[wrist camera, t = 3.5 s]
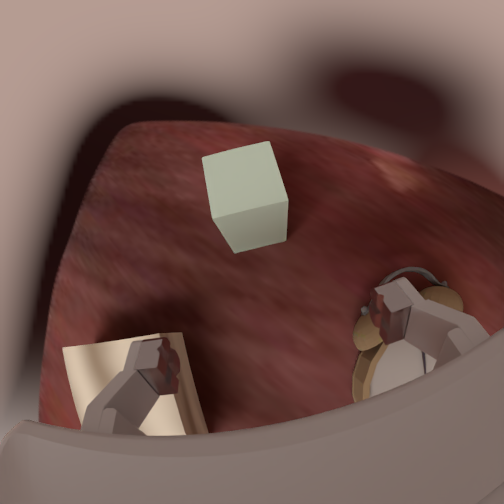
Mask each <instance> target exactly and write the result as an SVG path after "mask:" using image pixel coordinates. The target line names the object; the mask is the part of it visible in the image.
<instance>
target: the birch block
mask: <svg viewBox="0 0 504 504" xmlns="http://www.w3.org/2000/svg"><path fill="white" fill-rule="evenodd" d="M160 337H167V338H168V340H169V341H170V343H171V344H170V348H172V349H174V350H175V351H176V352H177V354H178V356H179V359H180V372H179V373H178V375H177V376H176V377H177V378H178V380H179V386H178V394H170V395H160V396H159V398H158V400H157V401H156V403H155V404H154V406H153V407H152V409H151V410H150V412H149V414H148V415H147V417H146V418H145V420H144V421H143V423H142V424H141V426H140V427H139V429H140V430H141V431H142V432H144V433H145V434H146V435H147V436H169V435H194V434H208V433H209V432H208V429H207V426H206V423H205V419H204V416H203V413H202V409H201V406H200V402H199V399H198V395H197V392H196V388H195V384H194V380H193V376H192V373H191V369H190V365H189V361H188V356H187V352H186V348H185V344H184V339H183V335H182V332H177V333H158V334H152V335H147V336H141V337H135V338H129V339H123V340H116V341H110V342H103V343H96V344H89V345H81V346H73V347H64V348H63V354H64V359H65V364H66V369H67V374H68V378H69V383H70V387H71V391H72V395H73V399H74V402H75V406H76V409H77V413H78V416H79V419H80V422H81V425H82V423H83V419H84V415H85V412H86V408H87V406H88V405H89V404H90V403H91V401H92V400H93V399H94V398H95V397H96V396H97V395H98V394H99V393H100V392H101V391H102V390H103V389H104V388H105V387H106V386H107V385H108V383H109V382H110V381H111V380H112V379H113V378H114V377H115V376H116V375H117V374H118V373H119V372H120V371H123V369H124V365H125V362H126V358H127V355H128V351H129V348H130V345H131V343H132V342H133V341H138V340H144V339H152V338H160Z"/></svg>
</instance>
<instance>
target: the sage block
mask: <svg viewBox="0 0 504 504" xmlns="http://www.w3.org/2000/svg"><path fill="white" fill-rule="evenodd" d="M202 161H203V167H204V173H205V179H206V185H207V191H208V197H209V202H210V208H211V214H212V219H213V221H214V222H215V224H216V225H217V227H218V228H219V230H220V232H221V233H222V235H223V236H224V238H225V239H226V241H227V242H228V244H229V246H230V247H231V249H232V250H233V252H234V253H238V252H242V251H246V250H250V249H255V248H259V247H263V246H267V245H271V244H275V243H279V242H283V241H286V235H287V218H288V197H287V194H286V191H285V187H284V184H283V181H282V178H281V175H280V172H279V169H278V166H277V163H276V159H275V156H274V153H273V150H272V147H271V145H270V142H269V141H266V142H262V143H257V144H253V145H248V146H244V147H240V148H236V149H232V150H228V151H224V152H220V153H217V154H213V155H209V156H206V157H202Z"/></svg>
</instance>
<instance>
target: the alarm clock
mask: <svg viewBox="0 0 504 504" xmlns="http://www.w3.org/2000/svg"><path fill="white" fill-rule="evenodd" d="M402 272H416V273H419V274H421V275H423V276H424V277H426V278H427V279H428V280H429V281H430V282H431V283H432V284H433V285H435V286H431V287H427V288H425V289H423V290H421V291H420V292H419V293H420V295H421V296H422V297H423V298H424V299H425V300H428V299H429V300H431V301H434V302H437V303H439V304H442V305H444V306H447V307H450V308H452V309H455V310H457V311H460V312H463V302H462V299H461V297H460V296H459V294H458V293H457V292H455V291H454V290H452V289H450V288H449V286H447V281H443V282H442V283H440V282H439V281H438V280H437V279H436V278H435V277H434V276H433V275H432V274H431V273H430V272H428V271H427V270H425V269H423V268H420V267H407V268H402V269H399V270H397V271H395V272H392V273H391V274H389V275H388V276H386V277H385V278H384V279H383V280H382V281H381V282H380V284H379V285H381V284H384V283H387V282H389V281H390V280H391V279H392V278H394V277H395V276H396V275H398V274H400V273H402ZM371 301H372V300H371ZM369 304H370V303H369ZM361 312H362V313H361V315H362V316H361V317H360V318H359V320H358V321H357V323H356V325H355V327H354V331H353V341H354V343H355V345H356V347H357V348H358V350H360V351H361V352H360V354H359V356H358V359H357V363H356V366H355V369H354V372H353V375H352V396H353V399H354V402H355V403H356V402H359V401H362V400H365V399H367V398H370V397H373V396H375V395H378V394H381V393H383V392H386V391H388V390H391V389H393V388H396V387H398V386H400V385H403V384H405V383H407V382H409V381H412V380H414V379H416V378H418V377H420V376H422V375H424V374H426V373H428V372H430V371H432V370H433V368H434V365H435V363H436V361H437V360H436V359H434V358H433V357H431V356H429V355H428V354H426V353H424V352H423V351H421V350H420V349H418V348H416V347H415V346H413V345H411V344H410V343H408V342H407V341H405V340H404V339H402V340H400V341H397V342H394V343H391V344H389V345H385V343H384V342H383V340H382V338H381V337H380V335H379V330H380V328H377V327H375V326H374V324H373V323H372V320H371V318H370V313H369V305H368V306H367V307H366V306H363V307H362V308H361Z"/></svg>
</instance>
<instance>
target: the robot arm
mask: <svg viewBox="0 0 504 504" xmlns="http://www.w3.org/2000/svg"><path fill="white" fill-rule="evenodd" d="M370 297H371V299H372V301H371V302H370V304H369V313H370V318H371V320H372V323H373V324H374V326H375V327H377V328H380V330H379V335H380V337H381V338H382V340H383V342H384V343H385V345H389V344H391V343H394V342H397V341H400V340H402V339H404V340H405V341H407V342H408V343H410V344H411V345H413V346H415V347H416V348H418V349H420V350H421V351H423V352H424V353H426V354H428V355H429V356H431V357H433V358H434V359H436V360H437V361H436V363H435V365H434V368H433V370H432V371H430V372H428V373H426V374H424V375H422V376H420V377H418V378H416V379H414V380H412V381H409V382H407V383H405V384H403V385H400V386H398V387H396V388H393V389H391V390H388V391H386V392H383V393H381V394H378V395H375V396H373V397H370V398H367V399H365V400H362V401H359V402H356V403H353V404H350V405H347V406H344V407H340V408H337V409H334V410H331V411H327V412H324V413H320V414H316V415H312V416H308V417H304V418H300V419H296V420H292V421H287V422H283V423H278V424H273V425H267V426H262V427H256V428H250V429H243V430H236V431H227V432H218V433H208V434H194V435H169V436H147V435H146V434H145V433H144V432H142V431H141V430H140V429H139V427H140V426H141V424H142V423H143V421H144V420H145V418H146V417H147V415H148V414H149V412H150V410H151V409H152V407H153V406H154V404H155V403H156V401H157V400H158V398H159V396H160V395H170V394H178V386H179V380H178V378H177V377H176V376H177V375H178V373H179V372H180V359H179V356H178V354H177V352H176V351H175V350H174V349H172V348H170V344H171V343H170V341H169V340H168V338H167V337H160V338H152V339H144V340H138V341H133V342H132V343H131V345H130V348H129V351H128V355H127V358H126V362H125V365H124V369H123V371H120V372H119V373H118V374H117V375H116V376H115V377H114V378H113V379H112V380H111V381H110V382H109V383H108V385H107V386H106V387H105V388H104V389H103V390H102V391H101V392H100V393H99V394H98V395H97V396H96V397H95V398H94V399H93V400H92V401H91V403H90V404H89V405H88V406H87V408H86V412H85V415H84V419H83V423H82V426H81V430H76V429H70V428H64V427H58V426H53V425H48V424H44V423H39V422H35V421H31V420H22V421H21V422H19V423H18V424H17V425H16V426H15V427H13V429H11V431H9V432H8V433H7V434H6V436H5V437H4V438H3V440H2V441H1V443H0V504H504V327H503V328H502V329H501V330H499V331H498V332H496V333H495V334H493V335H492V336H491V337H490V336H489V334H488V333H487V332H486V331H485V329H484V328H483V327H482V326H481V325H480V323H479V322H478V321H477V320H476V319H475V317H473V316H470V315H468V314H465V313H463V312H460V311H457V310H455V309H452V308H450V307H447V306H444V305H442V304H439V303H437V302H434V301H431V300H429V299H428V300H425V299H424V298H423V297H422V296H421V295H420V293H419V292H418V291H417V290H416V289H415V288H414V287H413V285H412V284H411V283H410V282H409V281H408V280H407V279H406V278H405V277H402V278H399V279H396V280H393V281H390V282H387V283H384V284H381V285H378V286H375V287H372V288H371V290H370Z"/></svg>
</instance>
